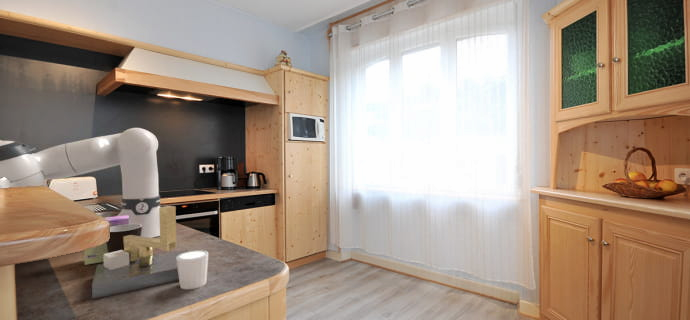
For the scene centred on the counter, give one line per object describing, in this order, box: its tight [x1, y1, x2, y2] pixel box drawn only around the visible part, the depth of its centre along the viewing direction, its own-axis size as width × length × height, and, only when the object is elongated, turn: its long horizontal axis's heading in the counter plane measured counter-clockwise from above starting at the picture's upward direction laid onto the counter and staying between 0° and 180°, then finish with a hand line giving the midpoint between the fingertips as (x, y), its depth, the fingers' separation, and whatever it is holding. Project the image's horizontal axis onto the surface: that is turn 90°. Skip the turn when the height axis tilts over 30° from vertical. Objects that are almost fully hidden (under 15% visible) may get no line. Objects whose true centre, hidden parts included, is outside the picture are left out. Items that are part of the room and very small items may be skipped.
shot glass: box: [176, 249, 209, 290], centre depth 74 cm, size 7×7×7 cm
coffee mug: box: [106, 224, 142, 258], centre depth 89 cm, size 12×9×10 cm
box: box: [83, 215, 129, 266], centre depth 91 cm, size 10×6×12 cm, turn 126°
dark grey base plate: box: [91, 249, 189, 300], centre depth 78 cm, size 14×20×3 cm
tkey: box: [123, 205, 178, 266], centre depth 77 cm, size 16×3×15 cm, turn 68°
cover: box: [103, 250, 129, 270], centre depth 77 cm, size 4×4×3 cm
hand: (90, 229), depth 66 cm, fingers closed
